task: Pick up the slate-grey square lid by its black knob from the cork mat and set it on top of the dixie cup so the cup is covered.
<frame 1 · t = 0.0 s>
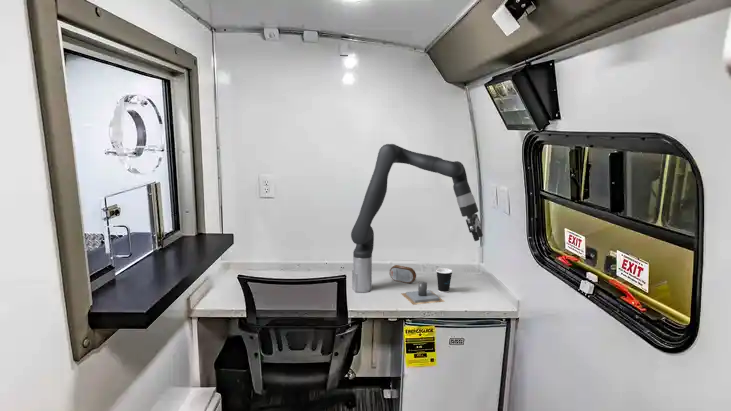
hand: (479, 238, 207), 31 cm above the worktop, tool tilted 20°, fingers open, 8 cm apart
dixie cup: (443, 292, 232), on the worktop
lid: (422, 297, 222), resting on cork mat
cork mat: (422, 298, 222), on the worktop
tin: (402, 282, 248), on the worktop
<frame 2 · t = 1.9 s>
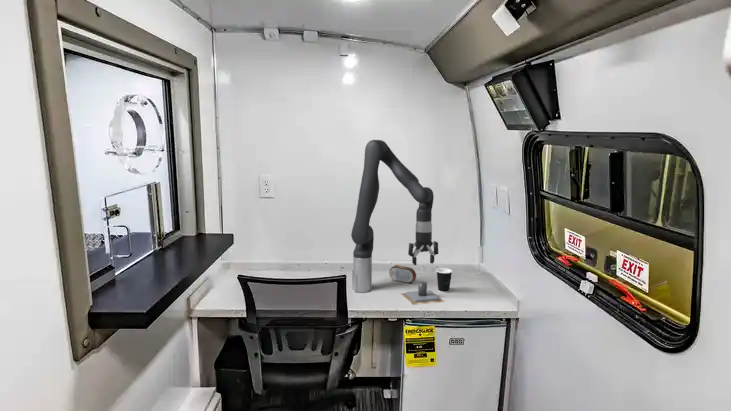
hand: (423, 264, 220), 17 cm above the worktop, tool pointing down, fingers open, 8 cm apart
nothing on the worktop moved.
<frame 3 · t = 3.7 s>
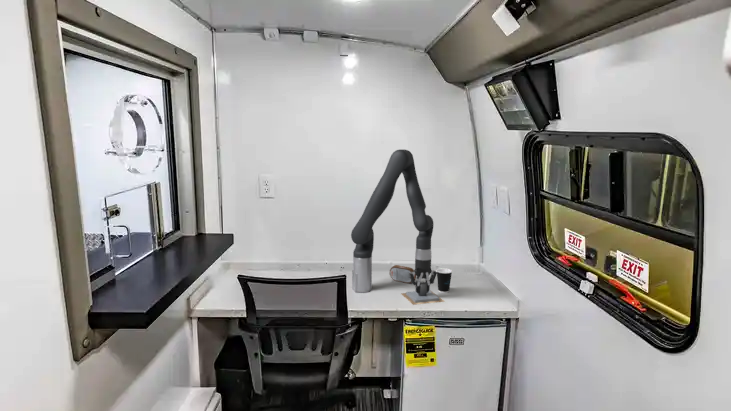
hand: (422, 292, 222), 3 cm above the worktop, tool pointing down, fingers closed on lid, 4 cm apart
lid: (422, 297, 222), resting on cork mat, touching gripper
everything else where it was.
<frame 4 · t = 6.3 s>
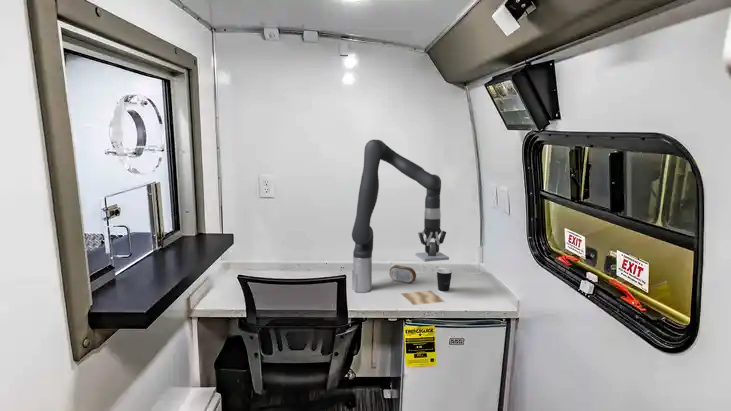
hand: (432, 252, 222), 22 cm above the worktop, tool pointing down, fingers closed on lid, 4 cm apart
lid: (431, 257, 222), point 19 cm above the worktop, touching gripper
everything else where it was.
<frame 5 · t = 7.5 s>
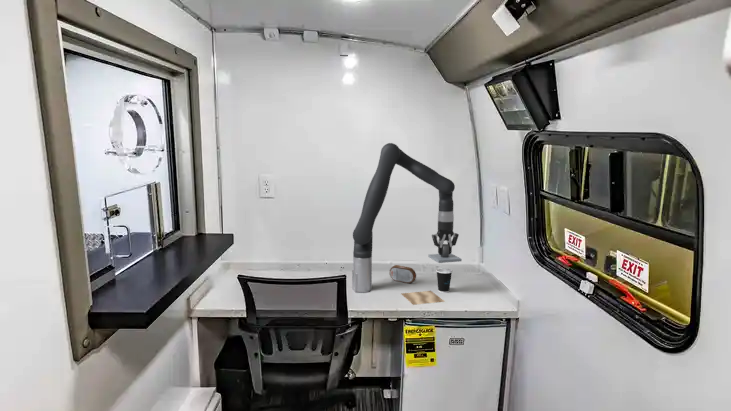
hand: (444, 254, 229), 19 cm above the worktop, tool pointing down, fingers closed on lid, 4 cm apart
lid: (444, 259, 229), point 17 cm above the worktop, touching gripper
everything else where it was.
when the fingers open (15 cm above the worktop, at t = 8.7 s): lid drops 1 cm, resting on dixie cup.
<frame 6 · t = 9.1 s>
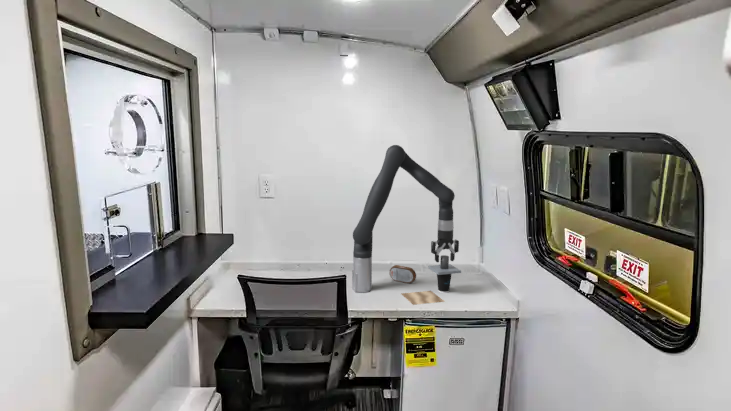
hand: (444, 261, 229), 16 cm above the worktop, tool pointing down, fingers open, 7 cm apart
dixie cup: (443, 292, 232), on the worktop, touching lid
lid: (444, 270, 230), point 11 cm above the worktop, touching dixie cup
everything else where it was.
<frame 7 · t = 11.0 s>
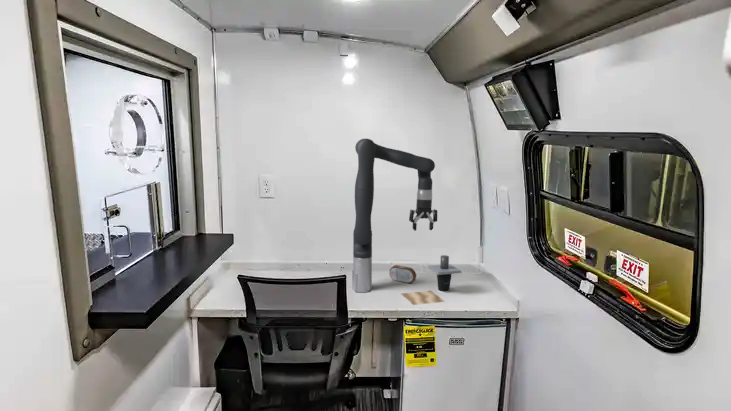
hand: (422, 230, 235), 30 cm above the worktop, tool pointing down, fingers open, 8 cm apart
nothing on the worktop moved.
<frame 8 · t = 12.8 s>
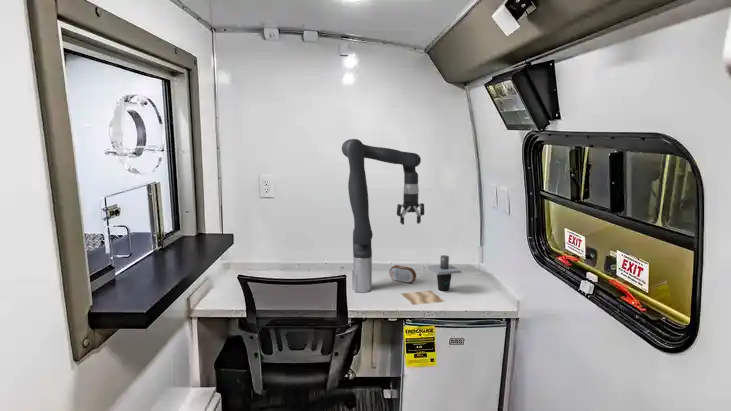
hand: (410, 223, 239), 32 cm above the worktop, tool pointing down, fingers open, 8 cm apart
nothing on the worktop moved.
at the end: lid 0.1 cm off-centre on the dixie cup, point 11.2 cm above the dixie cup's base; lid touching dixie cup; dixie cup tilted 0° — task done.
